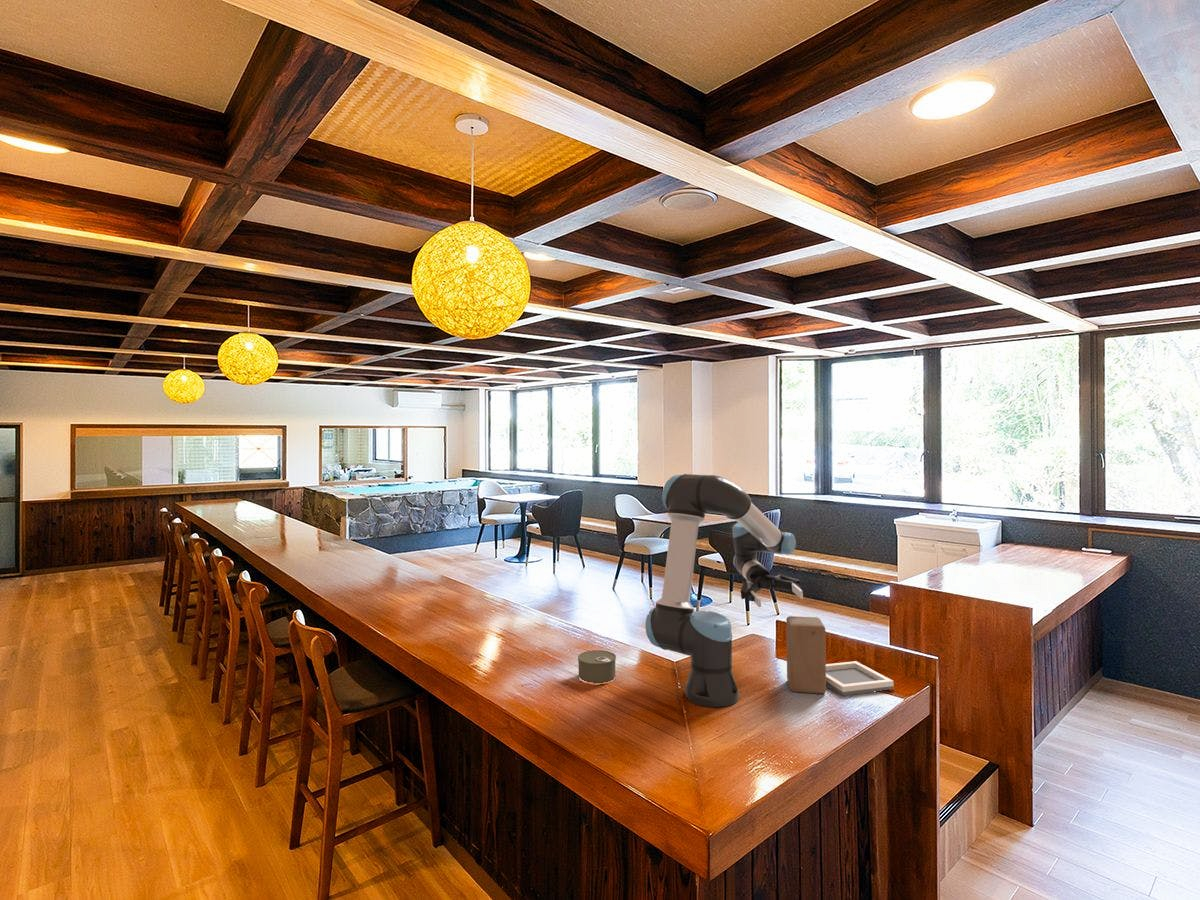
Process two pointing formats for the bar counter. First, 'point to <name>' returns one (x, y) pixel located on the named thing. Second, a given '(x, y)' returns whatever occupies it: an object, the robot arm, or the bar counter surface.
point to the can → (597, 666)
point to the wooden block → (806, 654)
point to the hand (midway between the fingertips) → (780, 599)
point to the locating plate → (855, 679)
